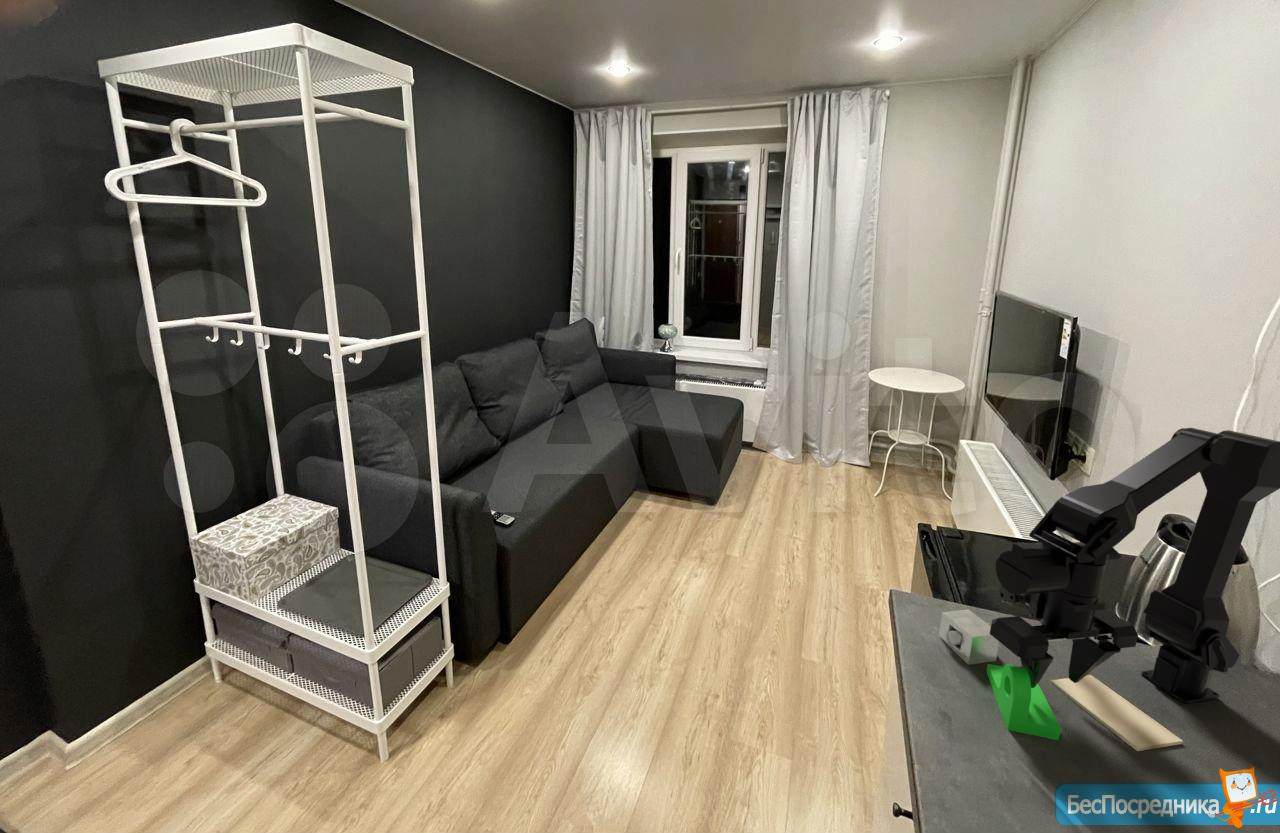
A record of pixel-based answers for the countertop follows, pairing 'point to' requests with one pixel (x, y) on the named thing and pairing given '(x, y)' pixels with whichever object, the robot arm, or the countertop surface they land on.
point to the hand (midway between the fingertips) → (1051, 683)
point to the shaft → (955, 637)
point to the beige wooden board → (1117, 714)
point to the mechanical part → (1022, 702)
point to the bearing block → (970, 636)
